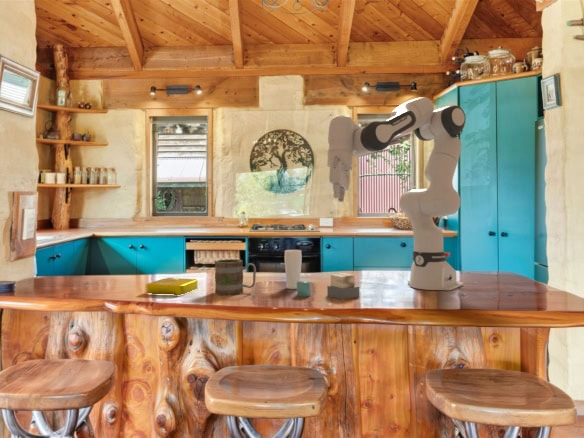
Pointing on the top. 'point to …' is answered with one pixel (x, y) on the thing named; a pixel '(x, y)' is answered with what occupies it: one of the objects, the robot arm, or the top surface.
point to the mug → (231, 277)
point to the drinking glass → (292, 267)
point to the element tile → (171, 286)
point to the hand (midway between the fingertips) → (338, 200)
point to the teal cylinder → (303, 288)
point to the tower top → (342, 280)
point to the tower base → (343, 292)
